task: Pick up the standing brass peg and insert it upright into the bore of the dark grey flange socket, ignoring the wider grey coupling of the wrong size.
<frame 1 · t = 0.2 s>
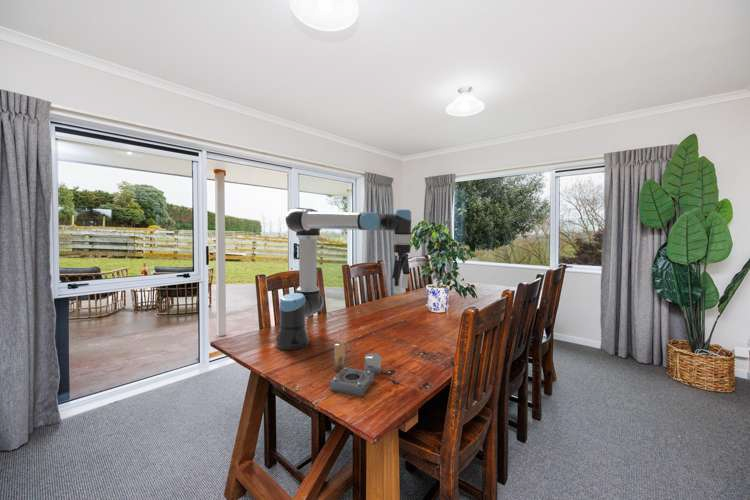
hand: (400, 290, 147), 27 cm above the table, fingers open, 13 cm apart
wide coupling: (372, 371, 125), on the table
brass peg: (339, 368, 127), on the table
flange socket: (352, 384, 114), on the table
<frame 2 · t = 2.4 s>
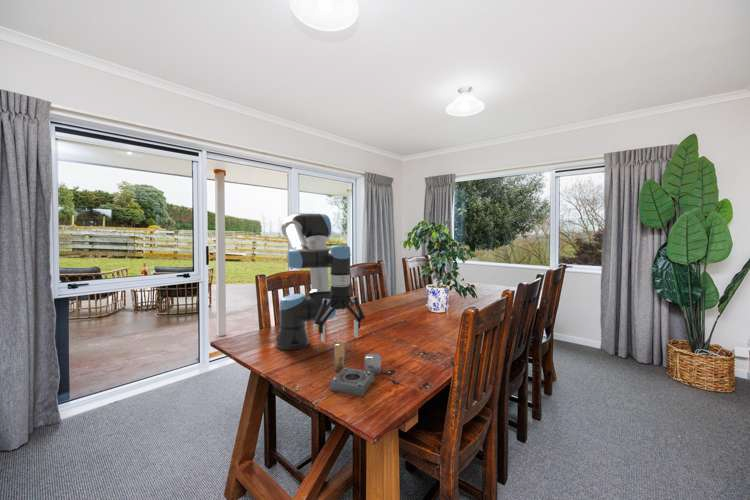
hand: (339, 339, 126), 12 cm above the table, fingers open, 13 cm apart
nothing on the table moved.
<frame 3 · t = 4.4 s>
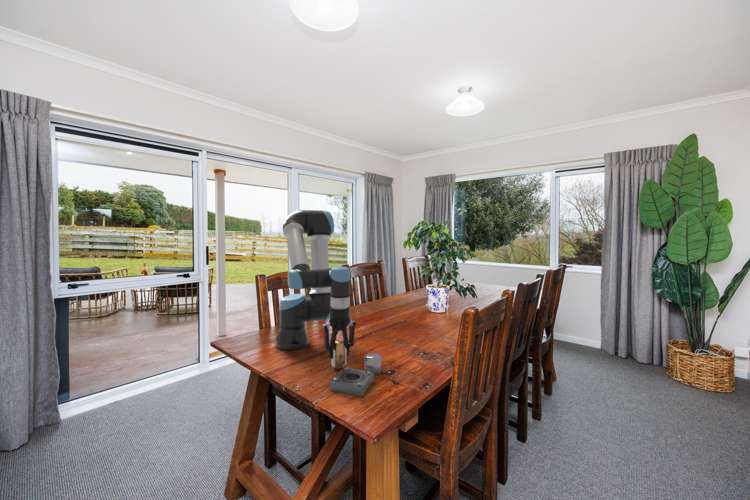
hand: (338, 364, 127), 1 cm above the table, fingers closed on brass peg, 4 cm apart
brass peg: (338, 366, 127), point 1 cm above the table, touching gripper
everything else where it was.
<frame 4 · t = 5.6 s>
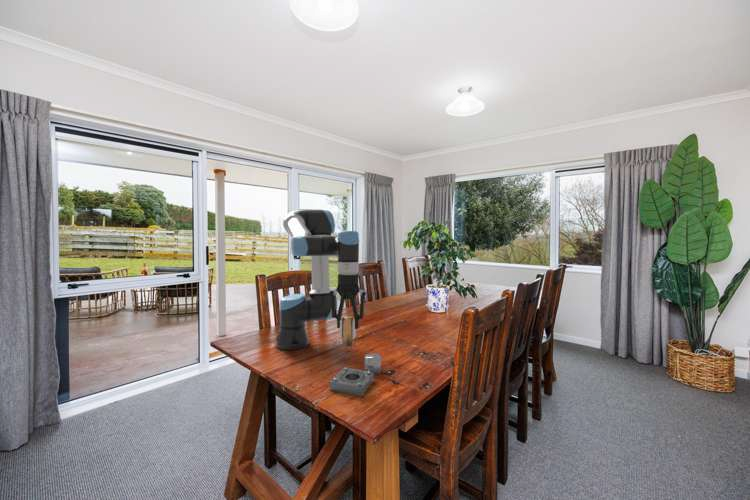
hand: (347, 336, 118), 16 cm above the table, fingers closed on brass peg, 4 cm apart
brass peg: (347, 344, 118), point 13 cm above the table, touching gripper
everything else where it was.
when the fingers open (5 cm above the table, at t = 7.5 s): brass peg drops 2 cm, resting in flange socket.
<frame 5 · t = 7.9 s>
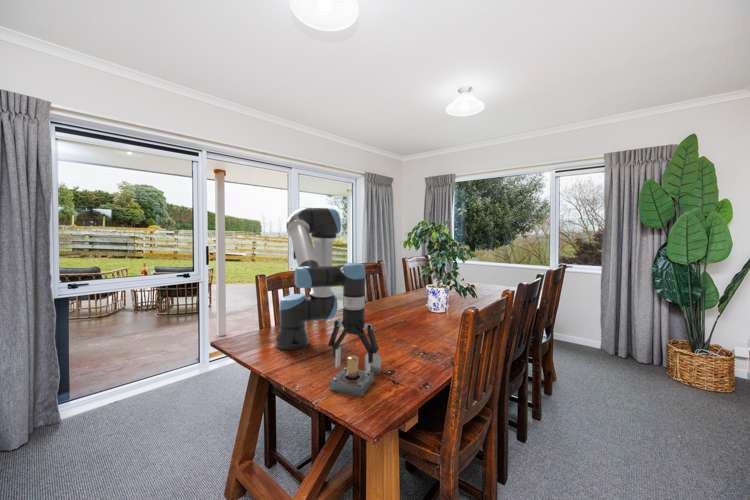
hand: (352, 368, 114), 6 cm above the table, fingers open, 11 cm apart
brass peg: (352, 384, 114), resting in flange socket
everything else where it was.
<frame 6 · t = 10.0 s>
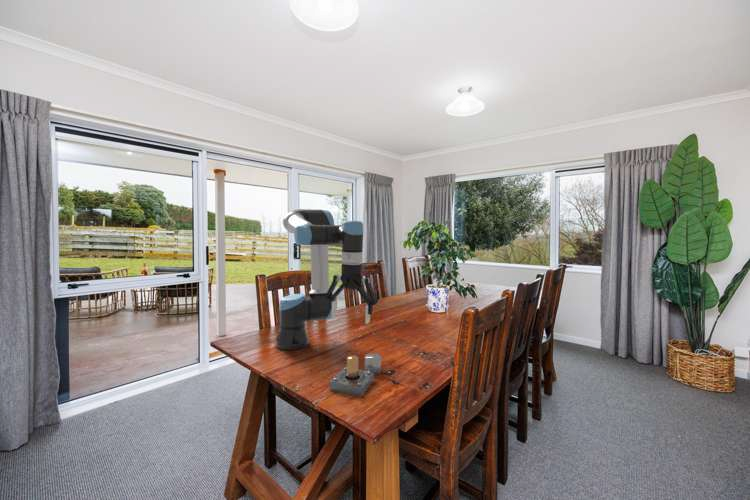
hand: (350, 320, 119), 22 cm above the table, fingers open, 13 cm apart
nothing on the table moved.
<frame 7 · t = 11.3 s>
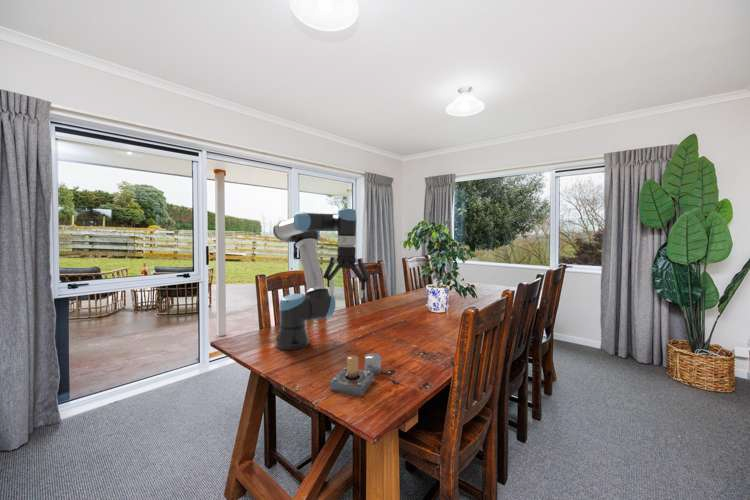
hand: (345, 296, 135), 27 cm above the table, fingers open, 13 cm apart
nothing on the table moved.
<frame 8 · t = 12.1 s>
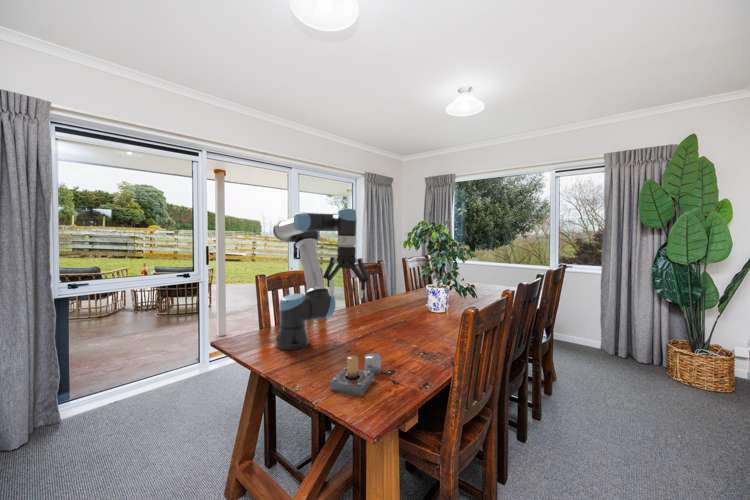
hand: (345, 296, 135), 27 cm above the table, fingers open, 13 cm apart
nothing on the table moved.
at the end: brass peg 0.1 cm off-centre on the flange socket, point 0.0 cm above the flange socket's base; brass peg tilted 0°; the gripper is holding nothing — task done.
